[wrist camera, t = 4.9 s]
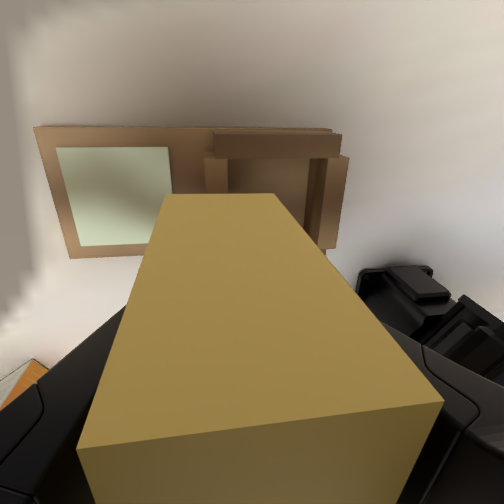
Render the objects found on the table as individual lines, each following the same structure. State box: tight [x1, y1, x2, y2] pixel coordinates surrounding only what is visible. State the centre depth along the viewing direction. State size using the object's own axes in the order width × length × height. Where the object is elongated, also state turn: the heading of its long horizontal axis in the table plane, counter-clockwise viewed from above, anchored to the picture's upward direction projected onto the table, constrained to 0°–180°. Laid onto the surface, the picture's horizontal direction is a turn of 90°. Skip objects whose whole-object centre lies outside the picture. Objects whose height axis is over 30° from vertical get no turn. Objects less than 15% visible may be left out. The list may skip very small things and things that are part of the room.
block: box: [76, 193, 445, 504], centre depth 8 cm, size 4×4×9 cm
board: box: [33, 126, 332, 259], centre depth 19 cm, size 8×17×1 cm, turn 89°
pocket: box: [204, 130, 349, 255], centre depth 18 cm, size 8×8×3 cm
